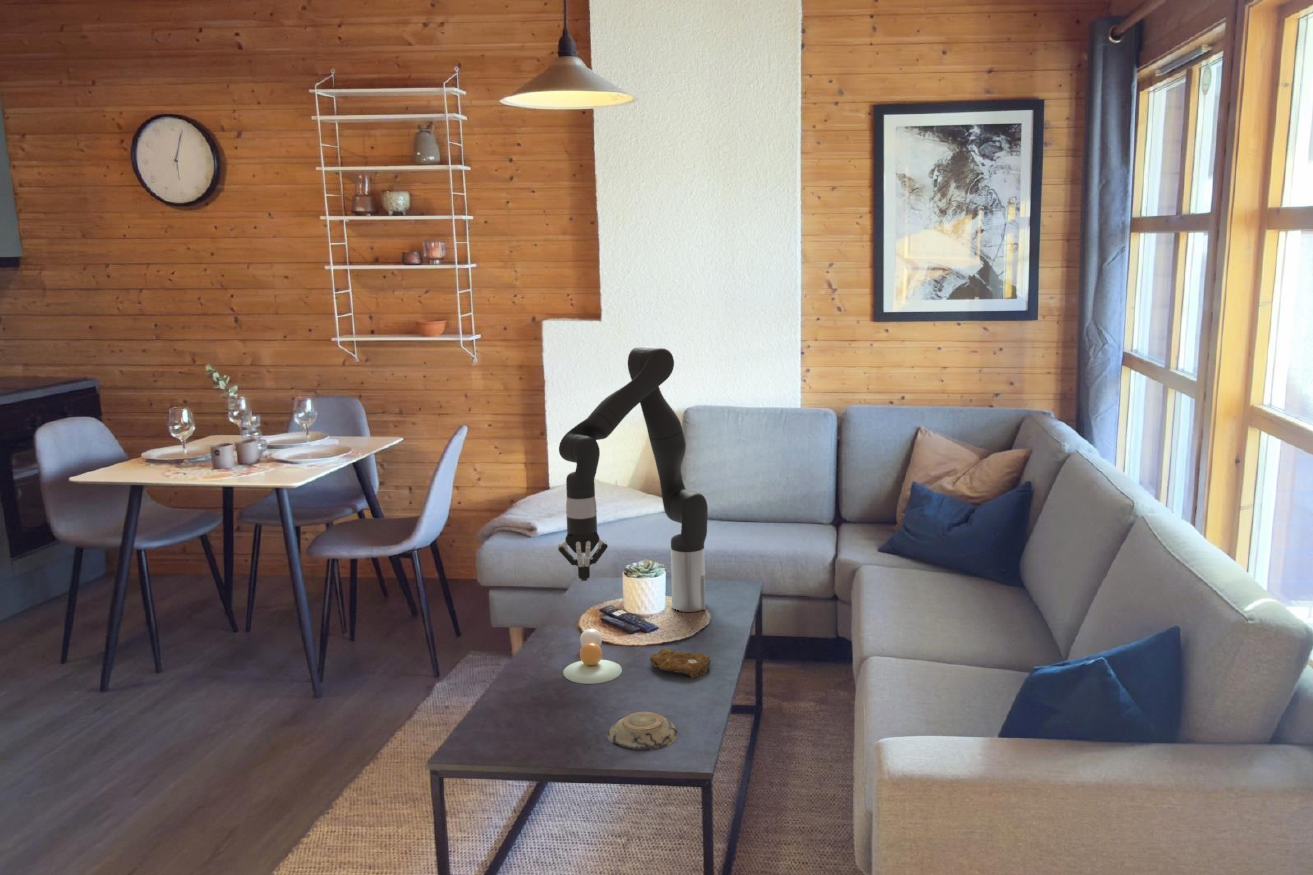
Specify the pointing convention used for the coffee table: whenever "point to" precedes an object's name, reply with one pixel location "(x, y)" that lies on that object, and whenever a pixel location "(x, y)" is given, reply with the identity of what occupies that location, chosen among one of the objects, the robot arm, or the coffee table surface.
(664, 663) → the decorative rock
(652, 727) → the decorative bowl
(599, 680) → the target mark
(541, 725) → the coffee table surface
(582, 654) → the object ball
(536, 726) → the coffee table surface
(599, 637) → the cue ball
